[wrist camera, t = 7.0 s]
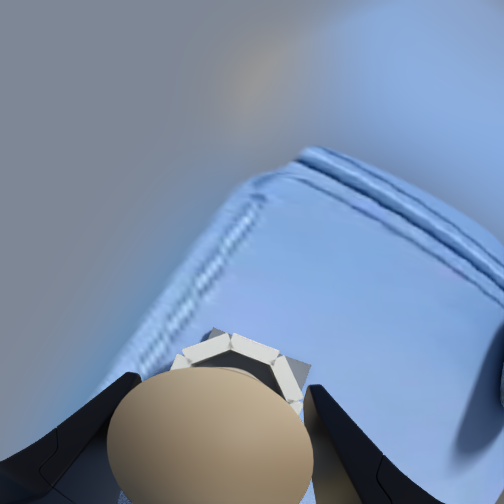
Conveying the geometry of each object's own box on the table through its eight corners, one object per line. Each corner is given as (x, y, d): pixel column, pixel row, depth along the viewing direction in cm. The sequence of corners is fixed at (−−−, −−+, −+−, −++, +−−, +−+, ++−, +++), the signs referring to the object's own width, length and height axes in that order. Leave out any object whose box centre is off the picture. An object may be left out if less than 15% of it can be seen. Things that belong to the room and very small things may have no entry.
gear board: (206, 563, 10) (201, 586, 7) (114, 524, 11) (97, 541, 8) (308, 365, 18) (322, 364, 15) (201, 323, 19) (192, 313, 16)
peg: (261, 433, 15) (296, 543, 3) (193, 424, 15) (107, 512, 3) (268, 371, 17) (325, 377, 5) (201, 362, 17) (116, 348, 5)
